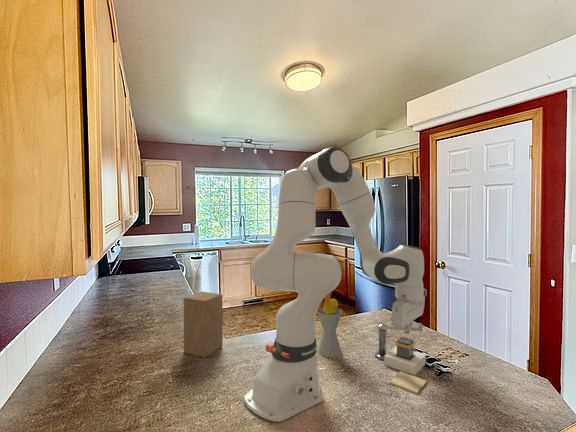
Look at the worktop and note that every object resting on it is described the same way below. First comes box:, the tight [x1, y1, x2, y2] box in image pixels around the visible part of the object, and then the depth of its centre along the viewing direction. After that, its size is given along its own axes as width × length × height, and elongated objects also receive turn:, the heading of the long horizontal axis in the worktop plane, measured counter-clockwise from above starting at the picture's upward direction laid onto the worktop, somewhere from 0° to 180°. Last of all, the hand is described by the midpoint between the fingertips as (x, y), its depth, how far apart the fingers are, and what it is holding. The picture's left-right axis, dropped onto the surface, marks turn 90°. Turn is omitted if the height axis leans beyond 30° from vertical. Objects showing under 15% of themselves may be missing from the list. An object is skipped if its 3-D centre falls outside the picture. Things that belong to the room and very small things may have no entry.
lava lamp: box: [317, 254, 343, 358], centre depth 112 cm, size 9×9×35 cm
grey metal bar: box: [377, 322, 423, 332], centre depth 107 cm, size 15×3×2 cm, turn 81°
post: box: [374, 329, 388, 361], centre depth 108 cm, size 5×5×10 cm
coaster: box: [389, 370, 428, 395], centre depth 92 cm, size 8×8×1 cm
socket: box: [383, 345, 427, 376], centre depth 103 cm, size 10×10×3 cm
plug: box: [394, 336, 416, 360], centre depth 103 cm, size 5×5×8 cm
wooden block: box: [183, 291, 223, 359], centre depth 113 cm, size 10×10×20 cm
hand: (407, 333), depth 105 cm, fingers closed, pressing on grey metal bar
